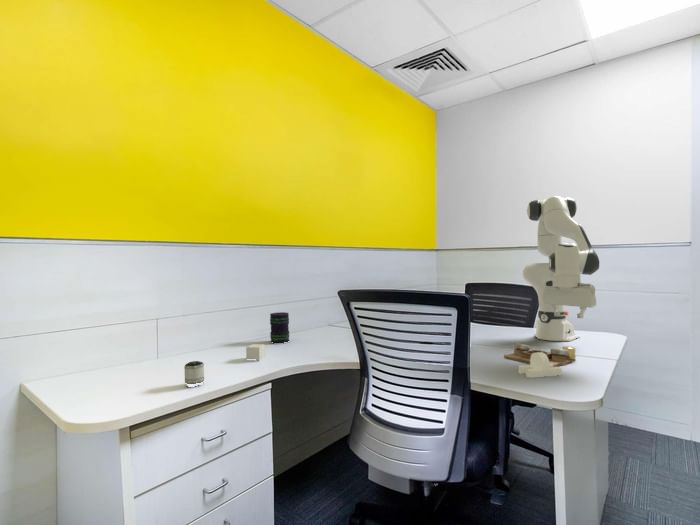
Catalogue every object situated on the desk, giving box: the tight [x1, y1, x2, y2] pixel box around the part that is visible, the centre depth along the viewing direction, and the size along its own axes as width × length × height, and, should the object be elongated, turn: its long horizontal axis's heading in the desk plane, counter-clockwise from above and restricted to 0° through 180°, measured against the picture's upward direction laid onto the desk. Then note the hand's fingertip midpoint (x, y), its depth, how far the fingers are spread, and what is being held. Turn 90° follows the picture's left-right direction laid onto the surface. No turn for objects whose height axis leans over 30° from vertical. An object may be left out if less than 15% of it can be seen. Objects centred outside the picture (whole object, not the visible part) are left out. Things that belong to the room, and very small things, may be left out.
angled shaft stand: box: [550, 348, 568, 362], centre depth 152 cm, size 4×6×4 cm, turn 60°
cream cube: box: [245, 343, 266, 360], centre depth 167 cm, size 6×6×6 cm
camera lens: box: [183, 360, 205, 384], centre depth 133 cm, size 6×6×8 cm
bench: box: [503, 342, 573, 367], centre depth 156 cm, size 15×20×5 cm
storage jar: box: [269, 311, 290, 344], centre depth 202 cm, size 10×10×15 cm
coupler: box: [562, 346, 577, 362], centre depth 155 cm, size 4×4×5 cm
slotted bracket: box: [518, 352, 563, 379], centre depth 138 cm, size 13×7×8 cm, turn 101°
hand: (568, 316), depth 155 cm, fingers open, 8 cm apart
